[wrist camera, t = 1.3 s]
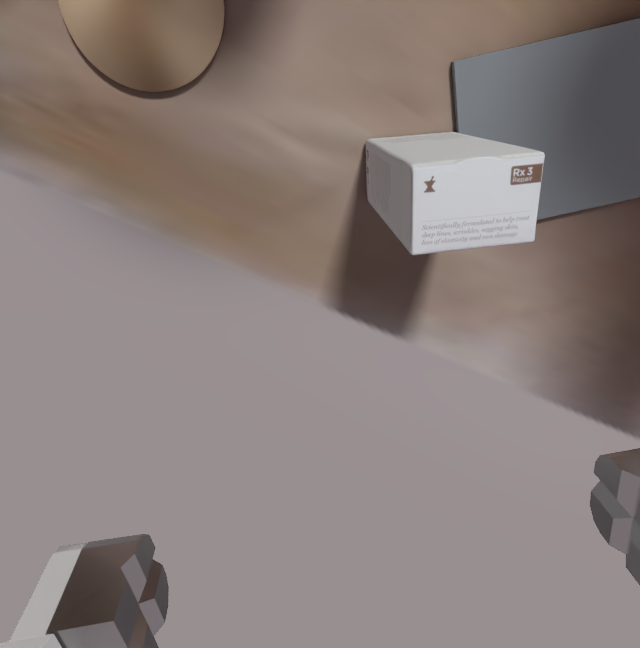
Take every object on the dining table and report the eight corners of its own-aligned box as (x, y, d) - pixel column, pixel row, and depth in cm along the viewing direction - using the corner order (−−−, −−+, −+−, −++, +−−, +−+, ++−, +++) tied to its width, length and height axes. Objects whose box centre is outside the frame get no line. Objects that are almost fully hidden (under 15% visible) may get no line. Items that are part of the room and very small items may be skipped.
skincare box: (366, 203, 33) (404, 265, 22) (364, 133, 31) (404, 164, 20) (455, 195, 33) (536, 252, 22) (458, 124, 31) (549, 150, 20)
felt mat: (666, 11, 29) (672, 10, 28) (646, 193, 34) (651, 194, 33) (451, 61, 29) (454, 61, 29) (463, 233, 34) (465, 235, 34)
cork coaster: (195, -121, 25) (193, -124, 24) (243, 72, 29) (242, 72, 29) (28, -78, 25) (25, -80, 25) (100, 106, 29) (97, 107, 29)
